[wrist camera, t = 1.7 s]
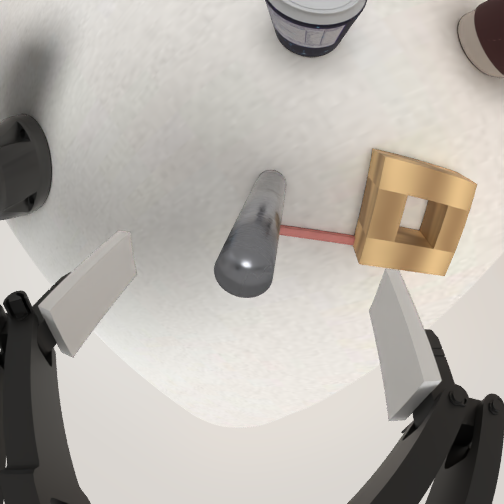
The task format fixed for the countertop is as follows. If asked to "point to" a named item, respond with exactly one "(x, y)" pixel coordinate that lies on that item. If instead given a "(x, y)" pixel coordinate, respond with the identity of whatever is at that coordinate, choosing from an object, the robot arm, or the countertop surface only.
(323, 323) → the countertop surface
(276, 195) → the grey capsule rod
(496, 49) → the coffee cup
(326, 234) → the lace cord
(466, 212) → the wooden square frame
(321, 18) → the beverage can
